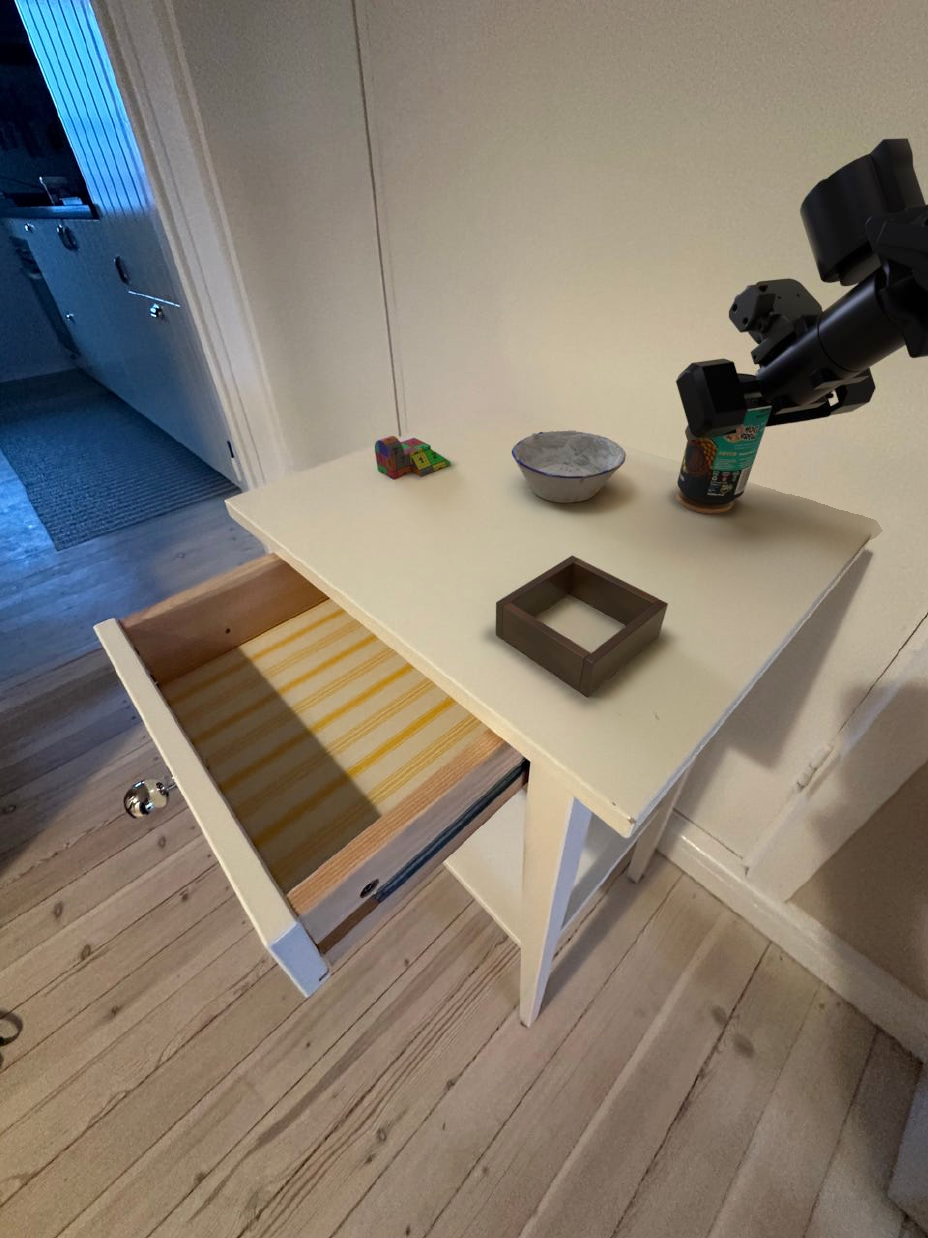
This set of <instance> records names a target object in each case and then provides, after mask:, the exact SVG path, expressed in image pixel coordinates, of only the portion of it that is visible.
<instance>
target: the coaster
mask: <svg viewBox="0 0 928 1238" xmlns="http://www.w3.org/2000/svg"><path fill="white" fill-rule="evenodd" d="M676 499H677V502H678V503H679V504H680V505H681V506H683V507H684V508H686V509H688V510H691V511H693V512H696V513H703V514H722V513H725V512H728V511H729V510H731V509H732V508H733V505H734V502H735V500H733V501H732V502H729V503H725V504H705V503H700V502H697V501H694V500H692V499H690V498H688V497H686V496H685V495H684V494H683V493H682V492H681V490H680V489H679V491H678V493H677V495H676Z"/></svg>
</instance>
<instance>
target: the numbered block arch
mask: <svg viewBox="0 0 928 1238" xmlns="http://www.w3.org/2000/svg"><path fill="white" fill-rule="evenodd" d="M374 453H375V460H376V468H377V471H378V472H380V473H382V474H383V475H385V476H387V477H389V478H390V479H392V480H396V479H399V478H401V477H404V476H406V475H409V474H412V473H413V474H416V475H417V476H419V477H423V476H426V475H428V474H431V473H433V472H436V471H440V470H442V469H445V468H446V467H449V466H451V461H450V460H448V459H447V458H446V457H444V456H443V455H441V454H439V453H438V452H437V451H435V450H433V449H432V446H431V444H428V443H426V442H425V441H422V440H420V439H418V438H416V437H412V438H409V439H406V440H402V441H400V439H399V438H398V437H396V436H395V435H390V436H386V437H384V438H380V439H378V440H376V441H375V442H374Z"/></svg>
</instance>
